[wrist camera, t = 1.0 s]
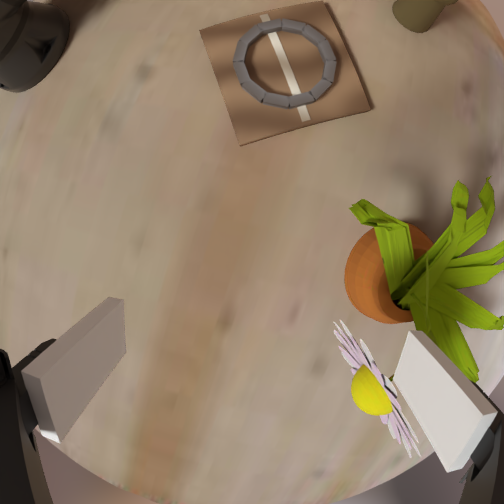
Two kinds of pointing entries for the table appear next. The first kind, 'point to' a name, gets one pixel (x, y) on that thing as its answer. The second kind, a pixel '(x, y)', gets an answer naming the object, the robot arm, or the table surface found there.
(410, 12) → the olive round stacked cylinder
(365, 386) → the decorative plant
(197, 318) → the table surface
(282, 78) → the socket board
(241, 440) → the table surface
